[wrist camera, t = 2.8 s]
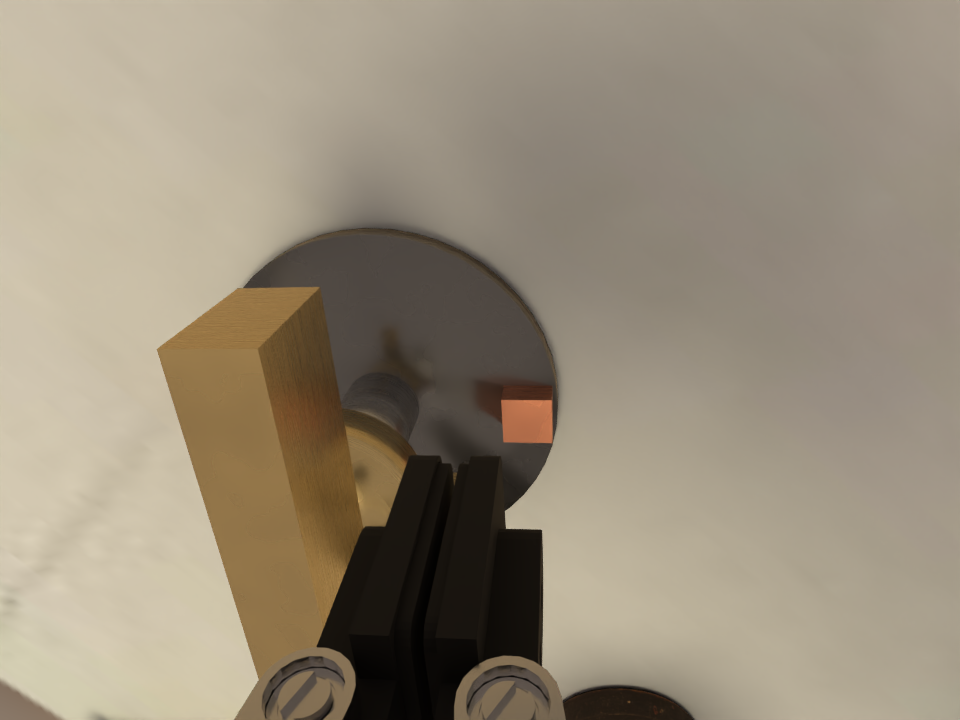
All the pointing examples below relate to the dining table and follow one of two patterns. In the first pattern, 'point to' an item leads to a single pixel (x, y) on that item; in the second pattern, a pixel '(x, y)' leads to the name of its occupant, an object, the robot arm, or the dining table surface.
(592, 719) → the container
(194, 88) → the dining table surface
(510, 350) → the post base
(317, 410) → the gold bar handle
